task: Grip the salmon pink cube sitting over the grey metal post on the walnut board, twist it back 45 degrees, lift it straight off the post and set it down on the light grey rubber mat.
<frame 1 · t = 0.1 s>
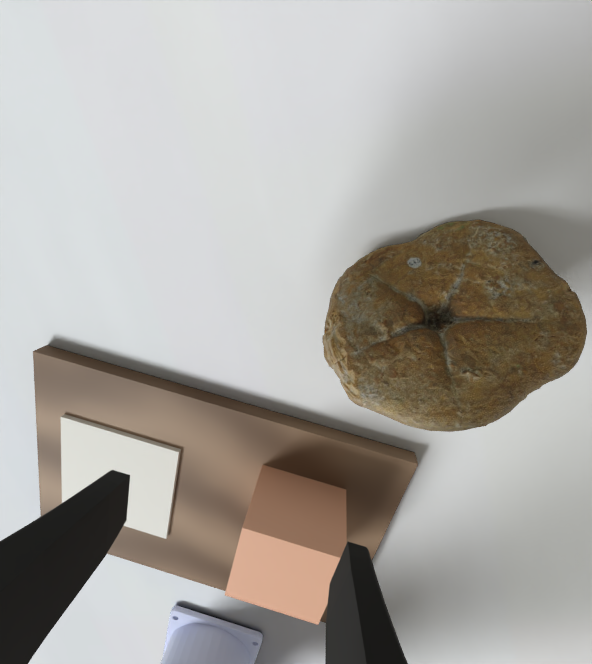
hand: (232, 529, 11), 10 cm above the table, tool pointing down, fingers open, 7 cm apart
post board: (207, 491, 24), on the table
salmon pink cube: (294, 508, 22), point 1 cm above the table, touching post board
mat: (127, 467, 24), resting on post board
fossil: (420, 298, 18), on the table
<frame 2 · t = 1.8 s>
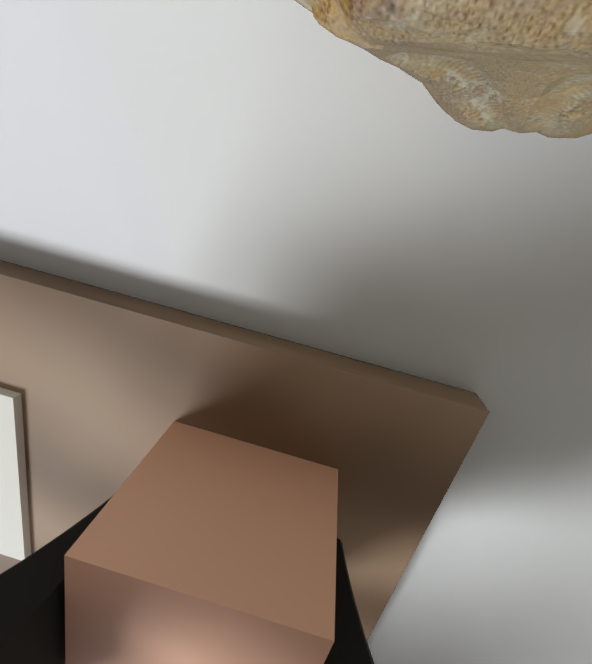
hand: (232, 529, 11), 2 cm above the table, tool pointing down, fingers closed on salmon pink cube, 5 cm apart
post board: (95, 478, 13), on the table
salmon pink cube: (240, 506, 12), point 1 cm above the table, touching gripper, post board
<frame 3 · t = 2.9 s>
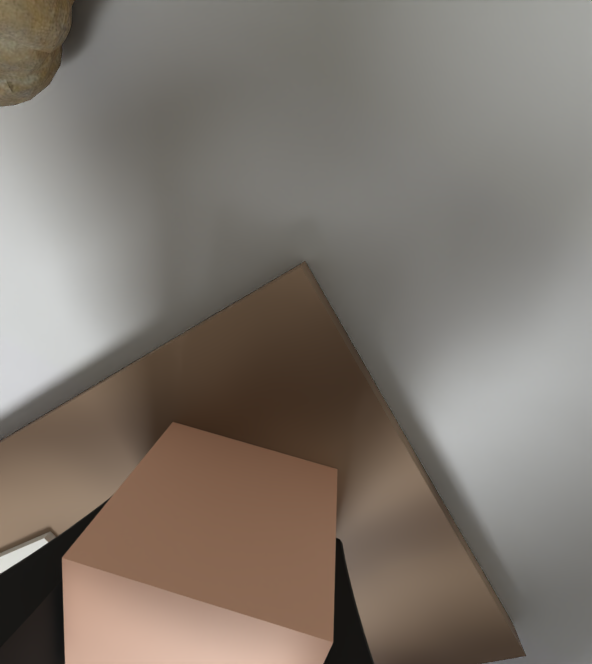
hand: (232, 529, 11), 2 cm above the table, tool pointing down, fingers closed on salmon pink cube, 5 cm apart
post board: (160, 562, 15), on the table
salmon pink cube: (239, 507, 12), point 1 cm above the table, touching gripper
mat: (69, 594, 16), resting on post board
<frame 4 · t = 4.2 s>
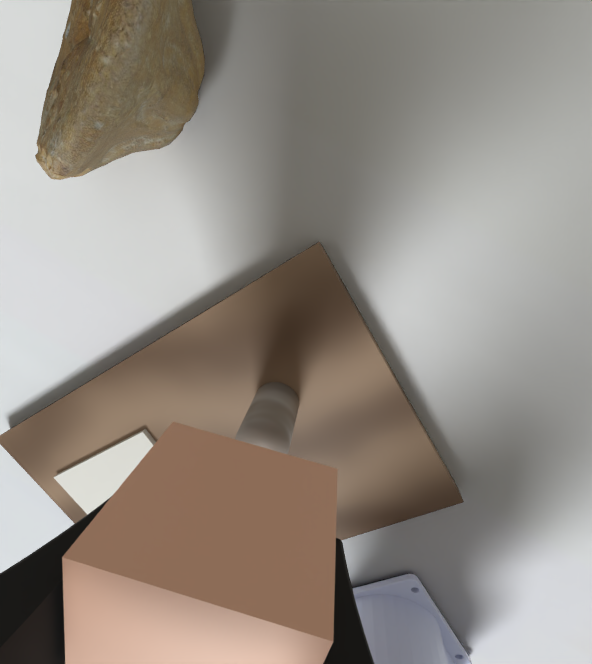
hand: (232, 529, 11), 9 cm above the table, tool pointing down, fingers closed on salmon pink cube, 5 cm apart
post board: (216, 456, 21), on the table
salmon pink cube: (239, 506, 12), point 8 cm above the table, touching gripper
mat: (147, 487, 23), resting on post board
fossil: (151, 73, 15), on the table
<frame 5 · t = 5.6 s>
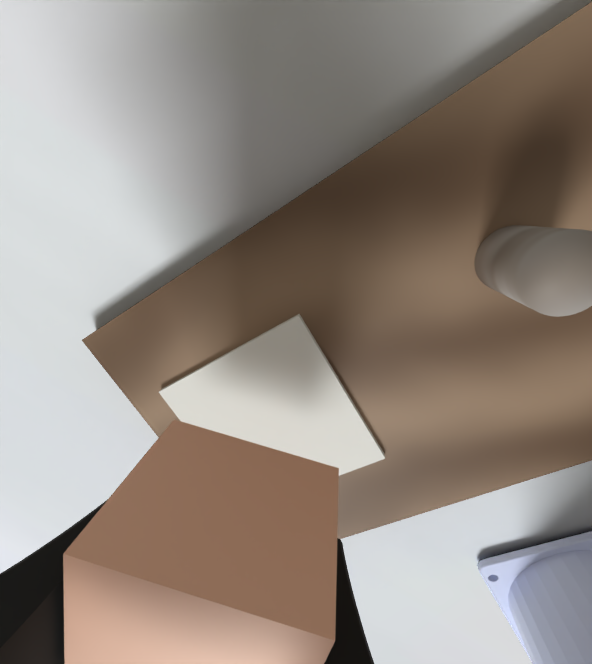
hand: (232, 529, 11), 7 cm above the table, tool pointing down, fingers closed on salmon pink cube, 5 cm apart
post board: (382, 360, 16), on the table
salmon pink cube: (240, 505, 11), point 6 cm above the table, touching gripper
mat: (275, 409, 17), resting on post board
when the fingers open (3 cm above the table, at t = 6.8 s): salmon pink cube stays where it is, resting on mat.
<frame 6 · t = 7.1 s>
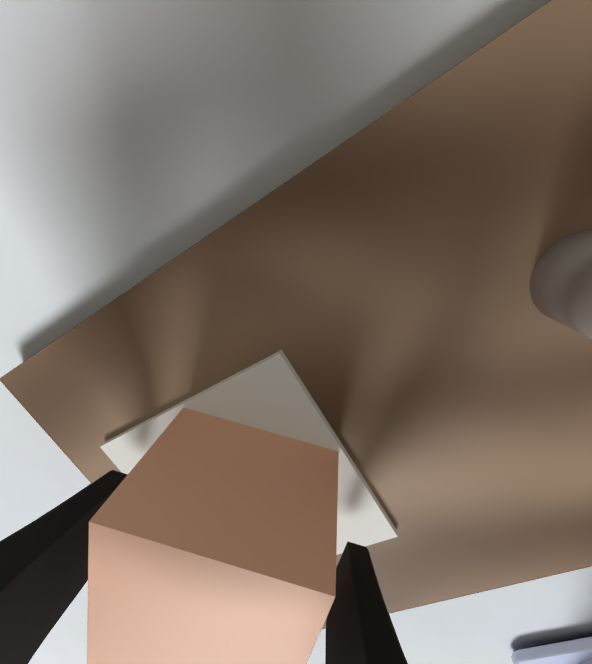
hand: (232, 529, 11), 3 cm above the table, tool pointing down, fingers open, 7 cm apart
post board: (394, 407, 12), on the table
salmon pink cube: (246, 489, 12), point 1 cm above the table, touching mat
mat: (254, 465, 13), resting on post board
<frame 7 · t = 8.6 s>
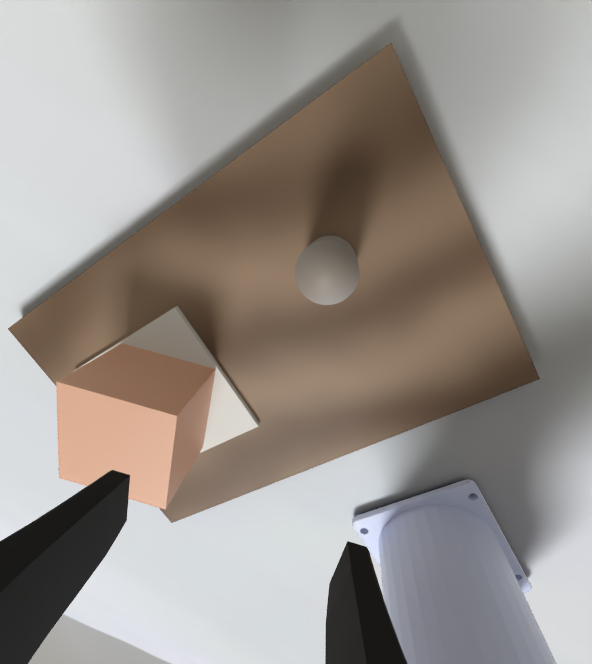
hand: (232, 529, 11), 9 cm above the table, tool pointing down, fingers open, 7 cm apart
post board: (254, 344, 19), on the table
salmon pink cube: (164, 397, 19), point 1 cm above the table, touching mat
mat: (174, 387, 20), resting on post board
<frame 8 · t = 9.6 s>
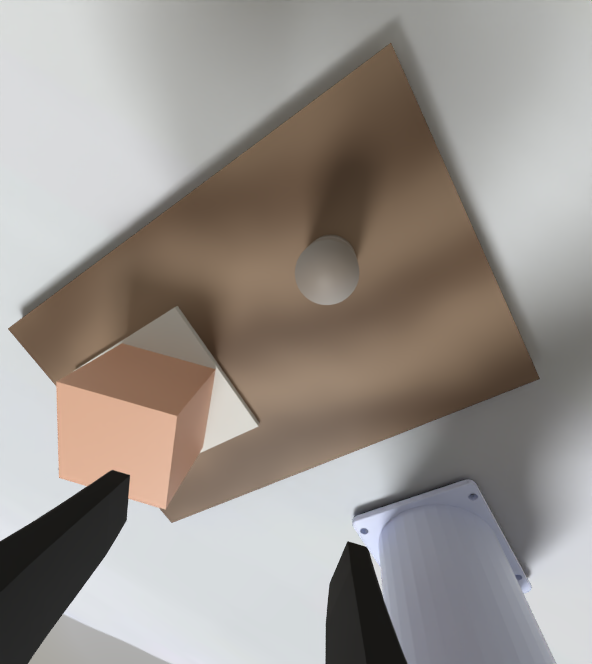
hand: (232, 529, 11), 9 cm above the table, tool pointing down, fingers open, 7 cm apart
post board: (254, 344, 19), on the table
salmon pink cube: (164, 397, 19), point 1 cm above the table, touching mat
mat: (174, 387, 20), resting on post board
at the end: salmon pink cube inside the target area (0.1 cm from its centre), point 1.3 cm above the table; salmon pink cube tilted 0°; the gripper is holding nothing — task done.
